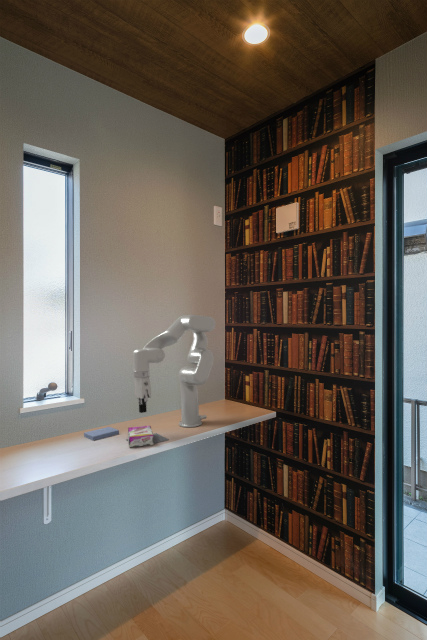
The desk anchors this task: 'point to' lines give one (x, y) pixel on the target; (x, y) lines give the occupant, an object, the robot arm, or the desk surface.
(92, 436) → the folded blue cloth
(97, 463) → the desk surface
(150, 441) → the candy bar box
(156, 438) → the mat
